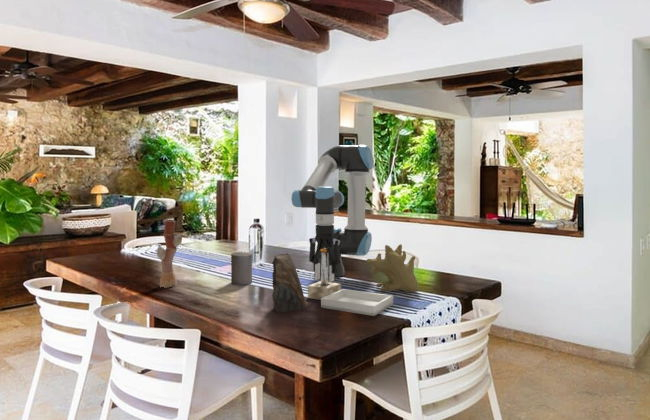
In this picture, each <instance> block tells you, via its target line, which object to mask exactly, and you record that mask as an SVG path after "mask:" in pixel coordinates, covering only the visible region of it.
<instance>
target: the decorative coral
mask: <svg viewBox="0 0 650 420" xmlns="http://www.w3.org/2000/svg"><path fill="white" fill-rule="evenodd" d="M402 249H403V245H402V244H401V243H400V244H399V245H398V246H397V247H396V248H395V250H393V248H392V247H391V246H390V245H387V244H385V246H384V251H385V253H384V257H383V258H382V254H381V253H379V252H378V253H377V255H376V258H367V259H366V262H367V264H369V265H370V266H372V268H371V269H370V273H371V275H372V274H373V275H374V274H377V273H382V274H383V276H385V277H386V278H387V279H388V281H385V282H377V283H376V284H375V285H376V287H377V288H379V289H380V292H386V291H387V292H388V291H392V292H395V291H399V290H400V291H403V292H406V293H414V292H416V291H417V289H418V286H419V285H418V284H419V283H418V280H417V277H416V275H415V273H414V271H415V270H414V269H415V268H414V267H415V260H416V256H415V255H413V256H411V258H410V259H409V260H408V262H407V263H405V261H406V259H407V253H406V251H405V250H402Z"/></svg>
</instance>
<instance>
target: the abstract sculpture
mask: <svg viewBox="0 0 650 420" xmlns="http://www.w3.org/2000/svg"><path fill="white" fill-rule="evenodd" d="M162 223H163V224H164V229H163V238H164V241H165V248H164V247H162V246H157V249H156V256H157V258H158V259H159V260H160V261H161V276H160V281H159V288H161V287H164V288H163V289H170V288H169V287H172V288H175V286H176V287H177V285H178V281H177V278H176V274H175V272H174V268H173V267H174V266H173V260H174V257H175V255H176V252H177V251H178V250H177V248H178V247H179V246H180V245H181V244H182V241H183V236H182V234H180V233H179V234H177V235H175V229H176V220H173V219H163V220H162Z"/></svg>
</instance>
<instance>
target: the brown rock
mask: <svg viewBox="0 0 650 420" xmlns="http://www.w3.org/2000/svg"><path fill="white" fill-rule="evenodd" d="M271 264H272V266H273V271H272V289H273V291H272V295H271V296H272V297H271V298H272V301H273V310H274V311H275V312H276V313H279V314H281V313H288V312H296V311H298V312H299V311H303V310H307V307H306V300H305V295H304V290H303V287H302V284H301V281H300V277H299V275H298V271H297V268H296V266H295V264H294V262H293V259H292V257H291V255H290V254H289V253H284V254H276V255H275V256H274V258H273V260H272V263H271Z"/></svg>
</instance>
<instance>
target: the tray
mask: <svg viewBox="0 0 650 420" xmlns="http://www.w3.org/2000/svg"><path fill="white" fill-rule="evenodd" d="M393 305H394V295H392V294H386V293H384V294H383V293H377V292H371V291H362V290H356V289H346V288H341V290H339V291H337V292H335V293H332V294H330V295H328V296H325V297H323V298H321V300H320V308H322V309H327V310H328V309H329V310H334V311H341V312H346V313H352V314H353V313H354V314H358V315H365V316H372V317H376V316H377V315H378V314H380V313H381V312H383V311H385V310H387V309H388V308H390V307H392V306H393Z"/></svg>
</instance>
